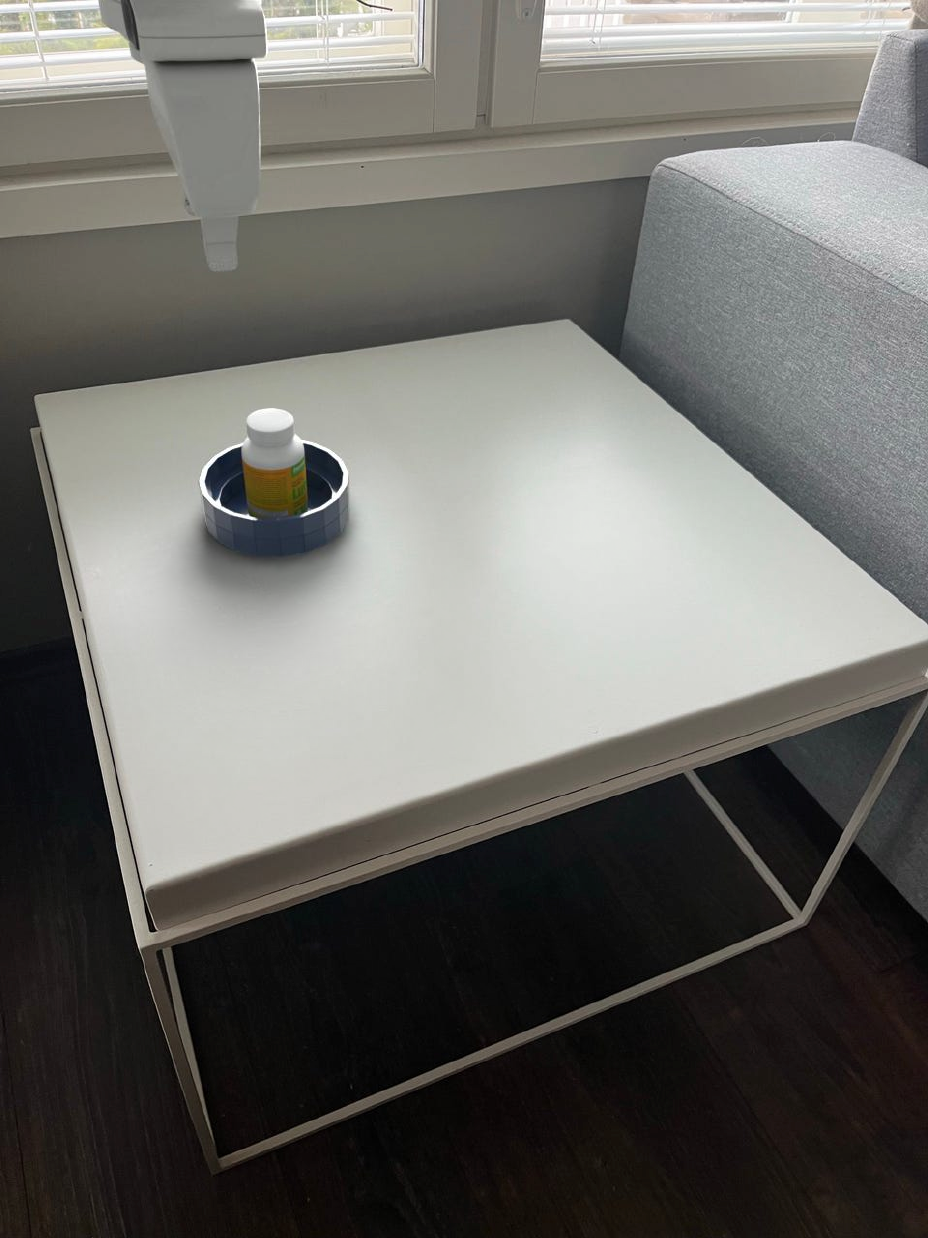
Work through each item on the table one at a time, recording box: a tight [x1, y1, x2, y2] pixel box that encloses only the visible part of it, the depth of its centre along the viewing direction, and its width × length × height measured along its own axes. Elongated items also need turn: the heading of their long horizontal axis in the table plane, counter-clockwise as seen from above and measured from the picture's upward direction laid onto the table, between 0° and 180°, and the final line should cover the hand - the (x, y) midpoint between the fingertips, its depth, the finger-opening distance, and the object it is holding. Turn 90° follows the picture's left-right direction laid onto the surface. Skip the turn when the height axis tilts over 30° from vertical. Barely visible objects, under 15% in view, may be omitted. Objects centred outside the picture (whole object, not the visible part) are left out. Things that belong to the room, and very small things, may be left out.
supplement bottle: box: [242, 407, 308, 518], centre depth 85 cm, size 5×5×10 cm
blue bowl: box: [198, 439, 351, 558], centre depth 88 cm, size 13×13×4 cm
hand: (209, 237), depth 63 cm, fingers open, 8 cm apart
